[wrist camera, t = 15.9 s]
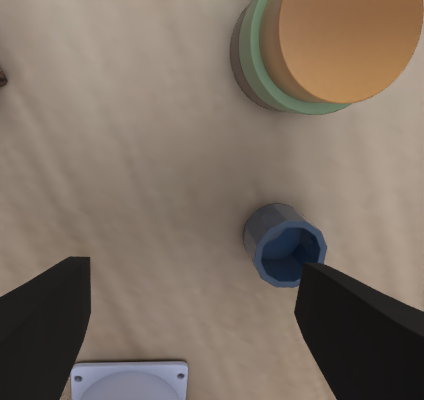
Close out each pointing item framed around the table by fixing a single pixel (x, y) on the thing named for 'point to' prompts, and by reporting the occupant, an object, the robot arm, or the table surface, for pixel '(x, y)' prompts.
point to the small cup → (282, 244)
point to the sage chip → (259, 75)
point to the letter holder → (2, 79)
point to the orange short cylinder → (338, 46)
